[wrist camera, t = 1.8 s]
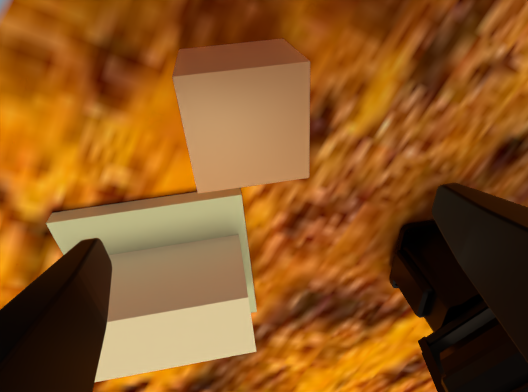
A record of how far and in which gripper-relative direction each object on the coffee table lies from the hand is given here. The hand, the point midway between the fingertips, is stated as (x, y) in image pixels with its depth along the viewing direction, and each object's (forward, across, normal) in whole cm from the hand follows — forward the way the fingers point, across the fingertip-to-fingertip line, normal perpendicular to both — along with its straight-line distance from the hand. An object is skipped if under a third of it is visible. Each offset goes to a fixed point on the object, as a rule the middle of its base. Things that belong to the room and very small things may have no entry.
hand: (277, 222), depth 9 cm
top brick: (+11, 0, 0) cm, 11 cm away
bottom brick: (+10, +6, +11) cm, 16 cm away
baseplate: (+11, +6, +11) cm, 16 cm away
